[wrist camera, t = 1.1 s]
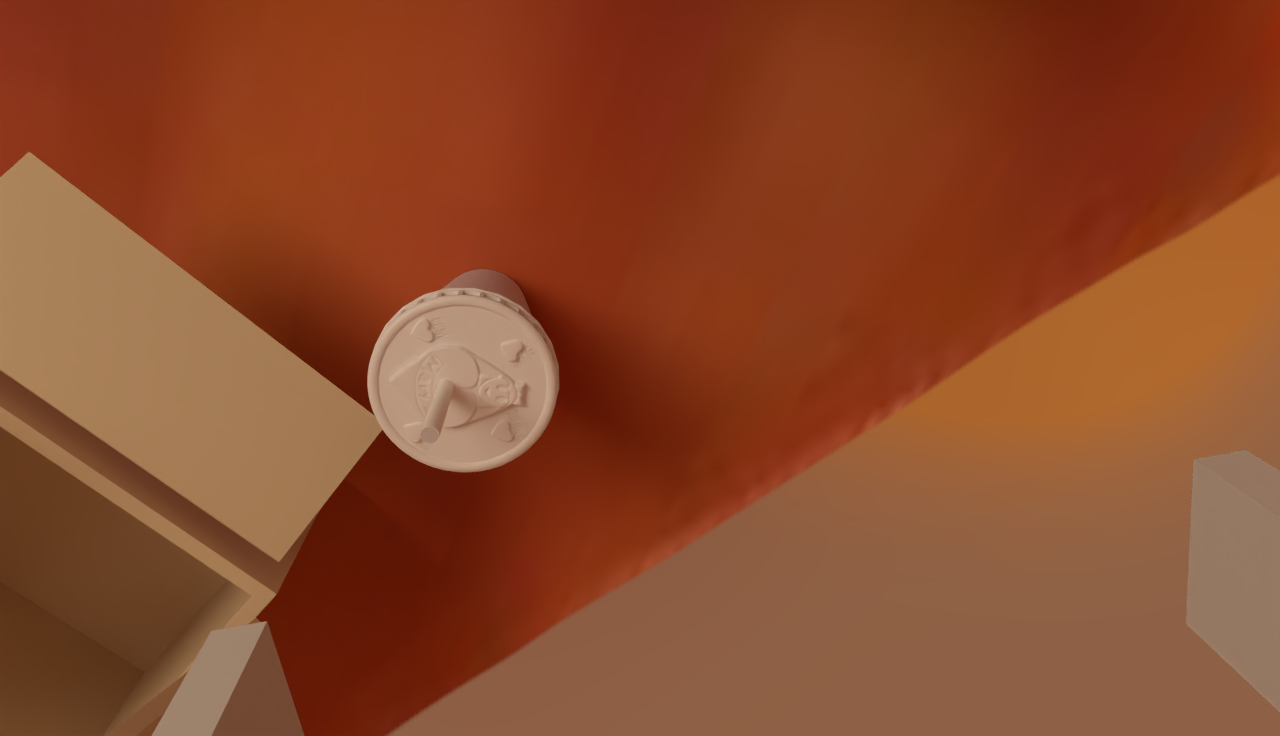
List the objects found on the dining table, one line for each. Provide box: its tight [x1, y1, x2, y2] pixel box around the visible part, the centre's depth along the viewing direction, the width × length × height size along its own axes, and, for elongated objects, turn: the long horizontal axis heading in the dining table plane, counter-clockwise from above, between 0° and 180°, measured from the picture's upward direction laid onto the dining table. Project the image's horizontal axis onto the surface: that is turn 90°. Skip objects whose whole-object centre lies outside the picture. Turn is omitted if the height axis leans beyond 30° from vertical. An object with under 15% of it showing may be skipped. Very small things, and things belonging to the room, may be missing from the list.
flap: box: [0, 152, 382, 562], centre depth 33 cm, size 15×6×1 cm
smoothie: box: [367, 269, 559, 472], centre depth 35 cm, size 6×6×14 cm
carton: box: [0, 371, 320, 736], centre depth 38 cm, size 16×14×10 cm
